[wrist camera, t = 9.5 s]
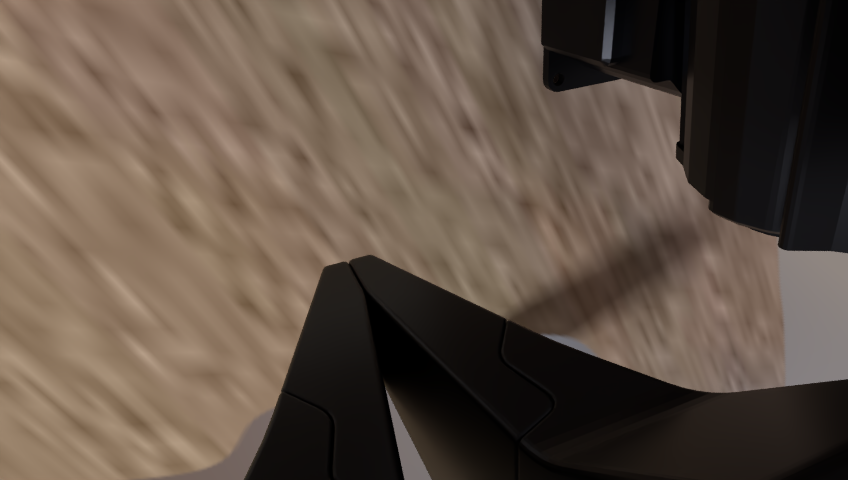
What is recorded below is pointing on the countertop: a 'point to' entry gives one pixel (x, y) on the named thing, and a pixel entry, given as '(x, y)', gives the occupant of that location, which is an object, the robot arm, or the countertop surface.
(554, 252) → the countertop surface
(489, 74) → the countertop surface
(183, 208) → the countertop surface
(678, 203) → the countertop surface
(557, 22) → the robot arm
